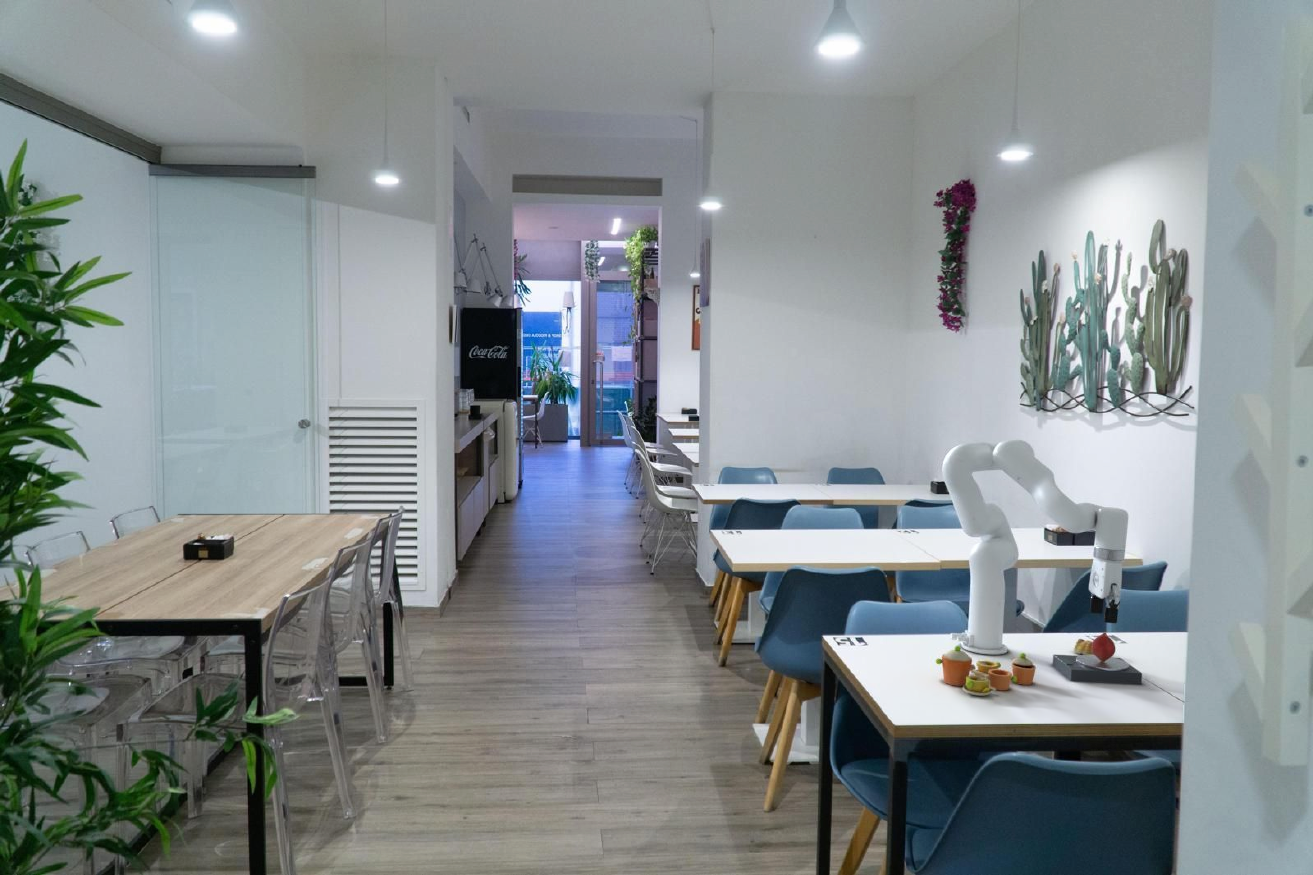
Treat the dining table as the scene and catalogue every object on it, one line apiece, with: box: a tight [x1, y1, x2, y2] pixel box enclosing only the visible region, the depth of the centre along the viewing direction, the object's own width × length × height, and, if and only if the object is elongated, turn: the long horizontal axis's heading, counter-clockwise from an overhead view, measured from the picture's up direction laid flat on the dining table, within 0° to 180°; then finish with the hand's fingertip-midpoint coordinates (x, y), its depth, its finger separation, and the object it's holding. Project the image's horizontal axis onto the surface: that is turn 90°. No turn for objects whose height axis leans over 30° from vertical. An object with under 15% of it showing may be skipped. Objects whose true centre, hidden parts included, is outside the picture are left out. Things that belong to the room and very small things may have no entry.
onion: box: [1091, 631, 1116, 662], centre depth 264 cm, size 6×6×8 cm
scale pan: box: [1076, 654, 1130, 671], centre depth 264 cm, size 13×13×1 cm
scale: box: [1052, 654, 1143, 685], centre depth 265 cm, size 18×14×3 cm
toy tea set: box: [935, 645, 1037, 697], centre depth 253 cm, size 26×16×10 cm, turn 122°
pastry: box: [1073, 638, 1094, 655], centre depth 283 cm, size 9×7×4 cm
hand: (1102, 617), depth 264 cm, fingers open, 9 cm apart
